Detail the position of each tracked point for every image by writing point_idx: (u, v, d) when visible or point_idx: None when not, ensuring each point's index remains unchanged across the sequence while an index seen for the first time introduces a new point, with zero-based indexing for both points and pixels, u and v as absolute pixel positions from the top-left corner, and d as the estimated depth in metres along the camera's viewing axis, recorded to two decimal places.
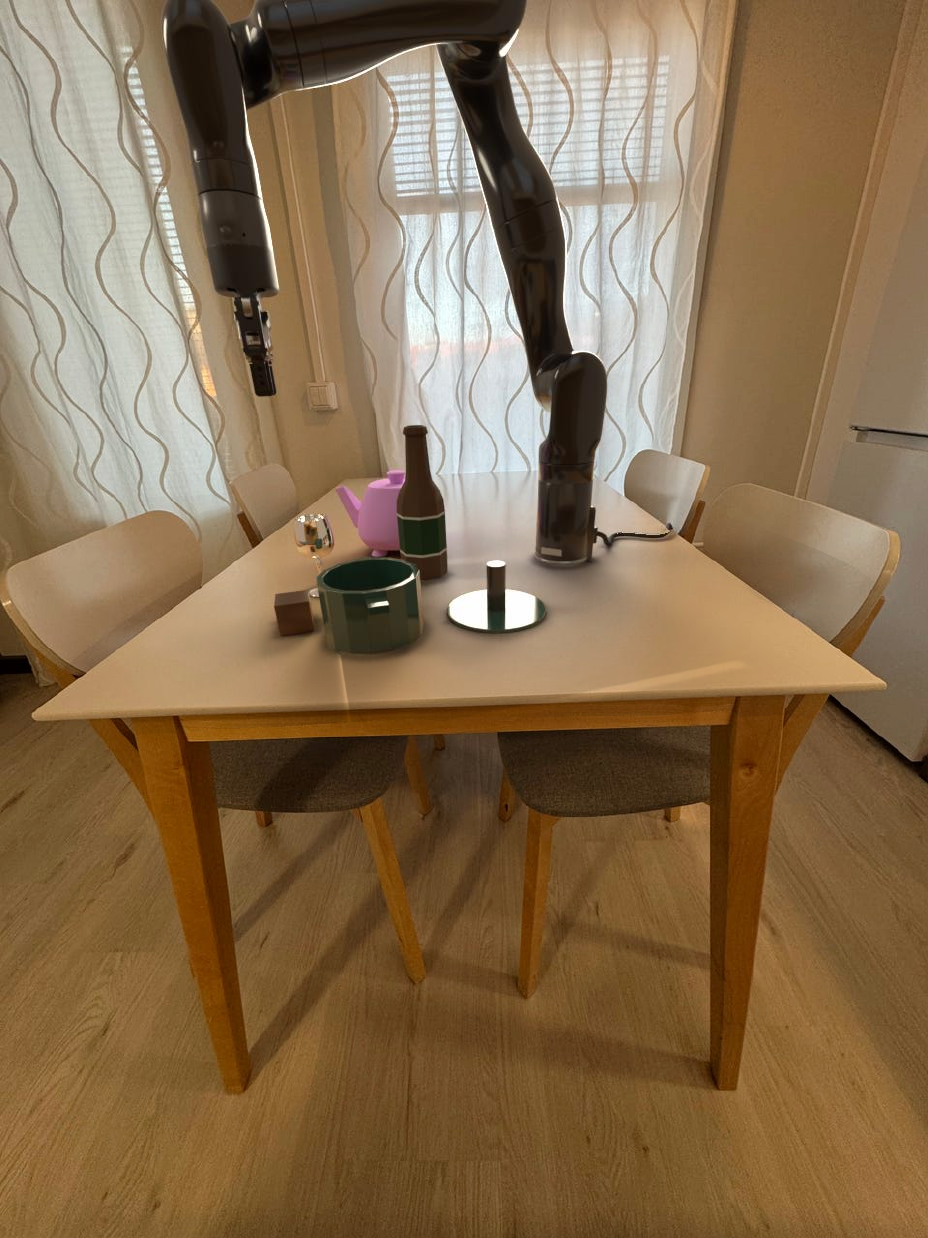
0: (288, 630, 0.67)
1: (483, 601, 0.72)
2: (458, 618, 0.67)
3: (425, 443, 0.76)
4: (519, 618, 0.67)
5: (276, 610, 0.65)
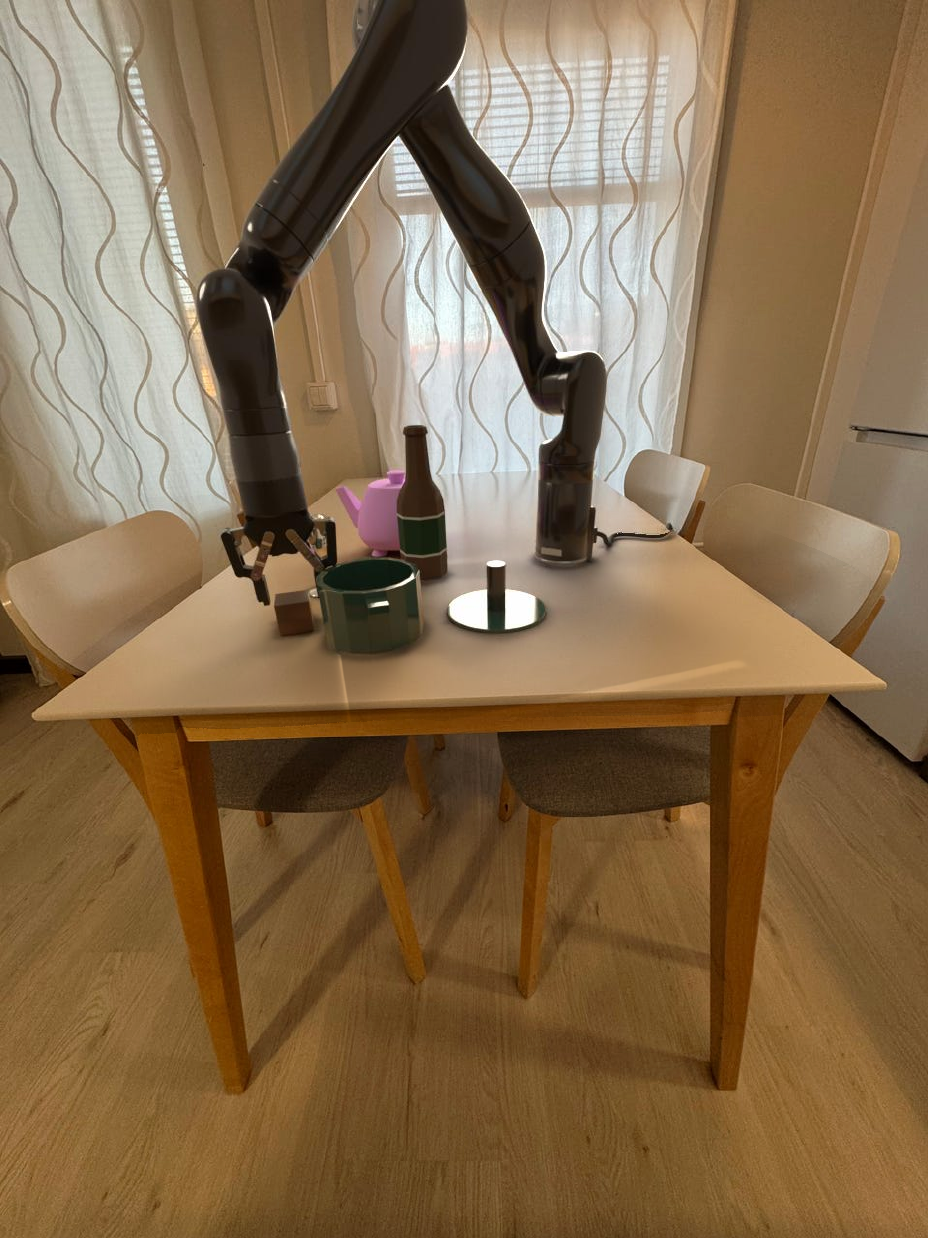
0: (288, 630, 0.67)
1: (483, 601, 0.72)
2: (458, 618, 0.67)
3: (425, 443, 0.76)
4: (519, 618, 0.67)
5: (276, 610, 0.65)
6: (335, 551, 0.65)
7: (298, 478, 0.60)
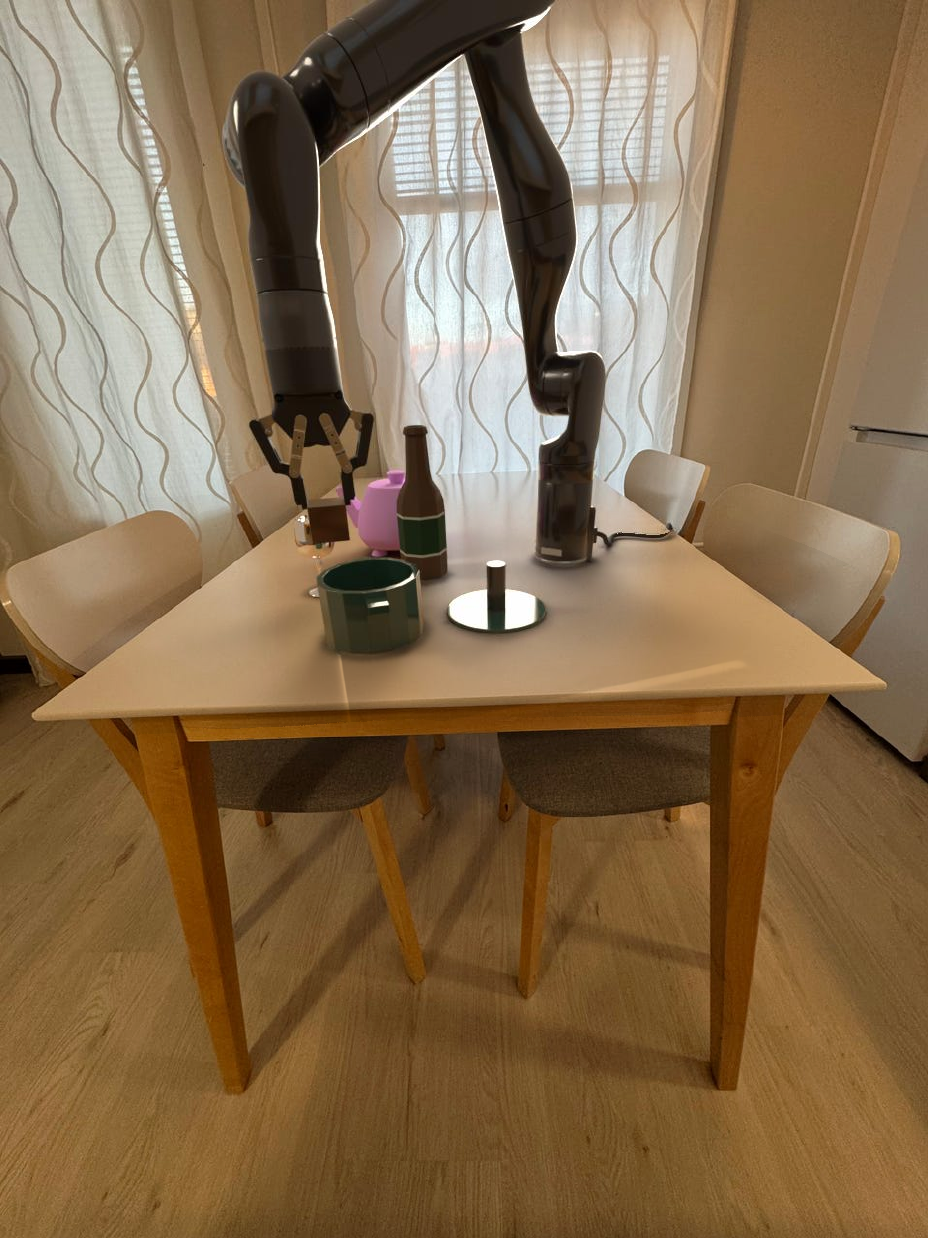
0: (322, 537, 0.60)
1: (483, 601, 0.72)
2: (458, 618, 0.67)
3: (425, 443, 0.76)
4: (519, 618, 0.67)
5: (309, 513, 0.58)
6: (367, 450, 0.58)
7: (335, 351, 0.53)
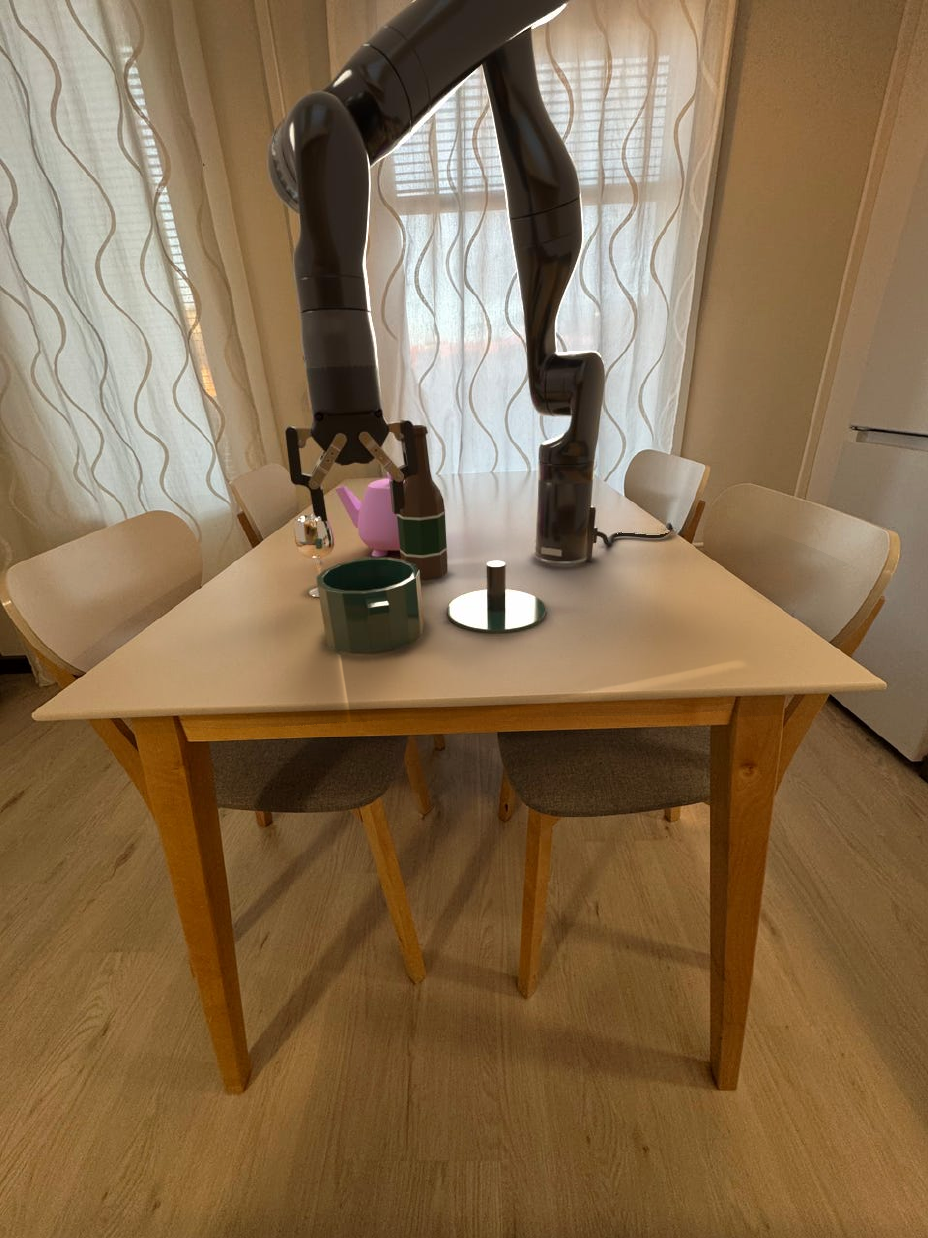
0: None
1: (483, 601, 0.72)
2: (458, 618, 0.67)
3: (425, 443, 0.76)
4: (519, 618, 0.67)
5: None
6: (415, 457, 0.57)
7: (377, 370, 0.52)
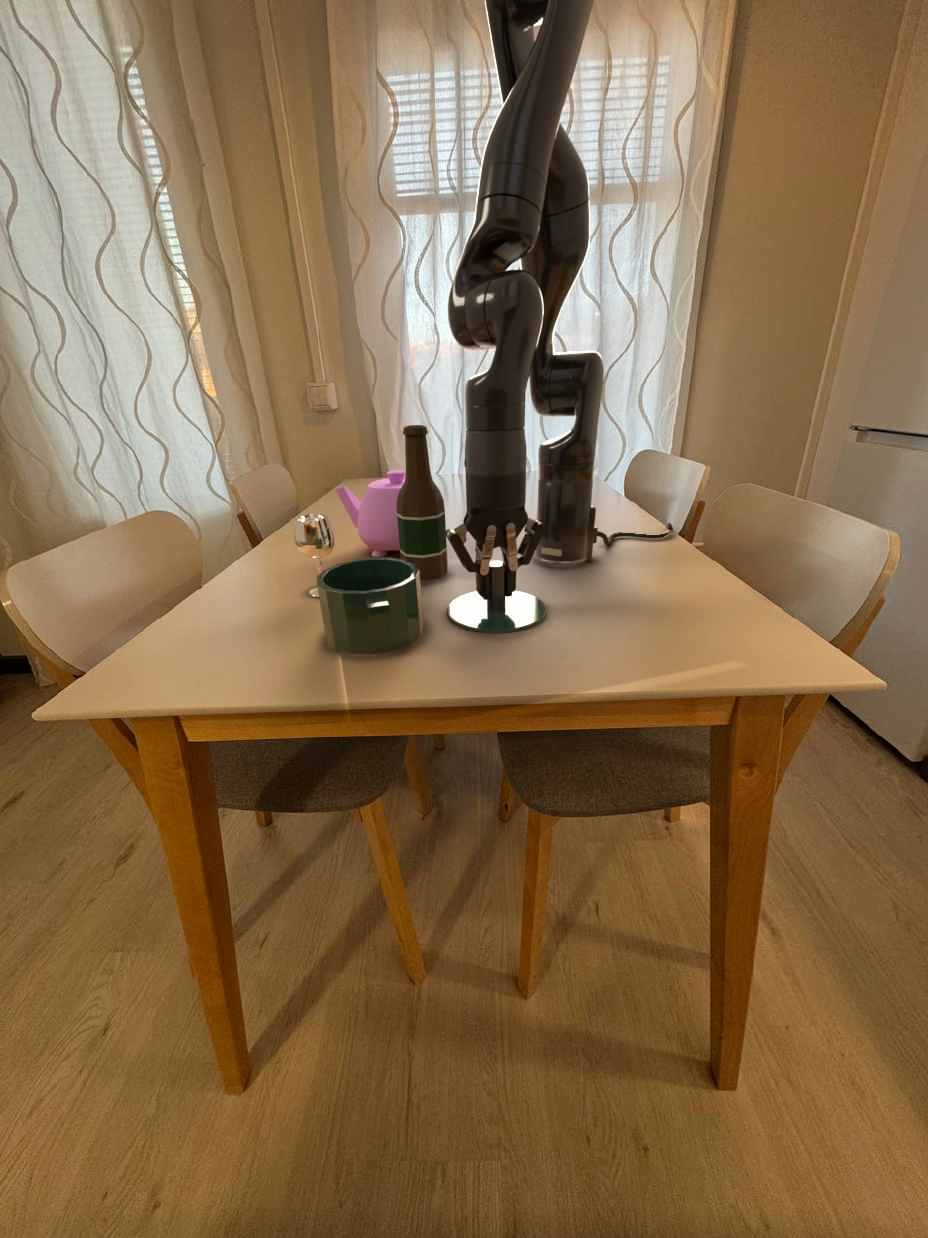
0: None
1: (483, 601, 0.72)
2: (458, 618, 0.67)
3: (425, 443, 0.76)
4: (519, 618, 0.67)
5: None
6: (533, 552, 0.67)
7: None
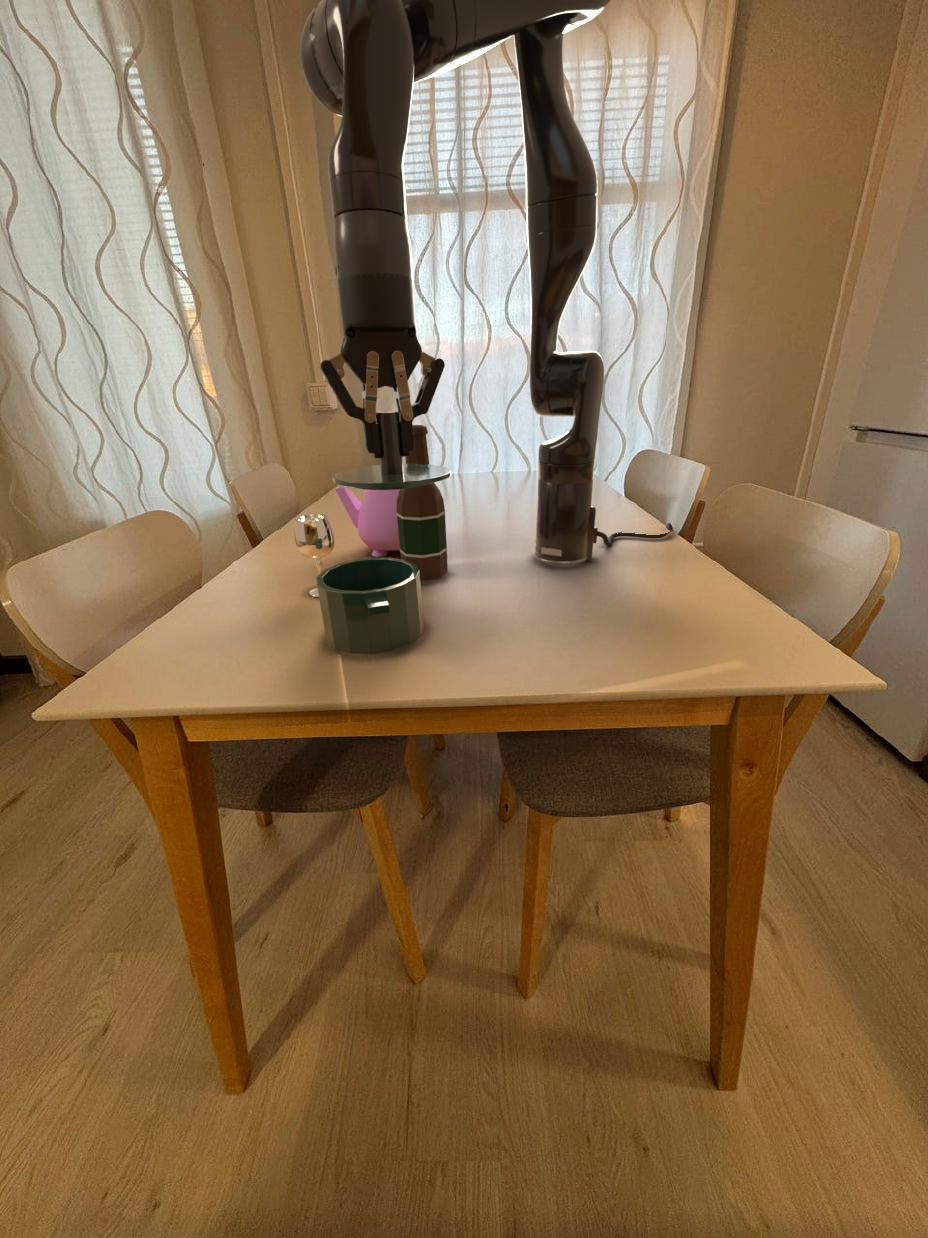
0: None
1: (380, 469, 0.60)
2: (341, 478, 0.55)
3: (425, 443, 0.76)
4: (414, 476, 0.55)
5: None
6: (431, 397, 0.55)
7: (412, 283, 0.50)
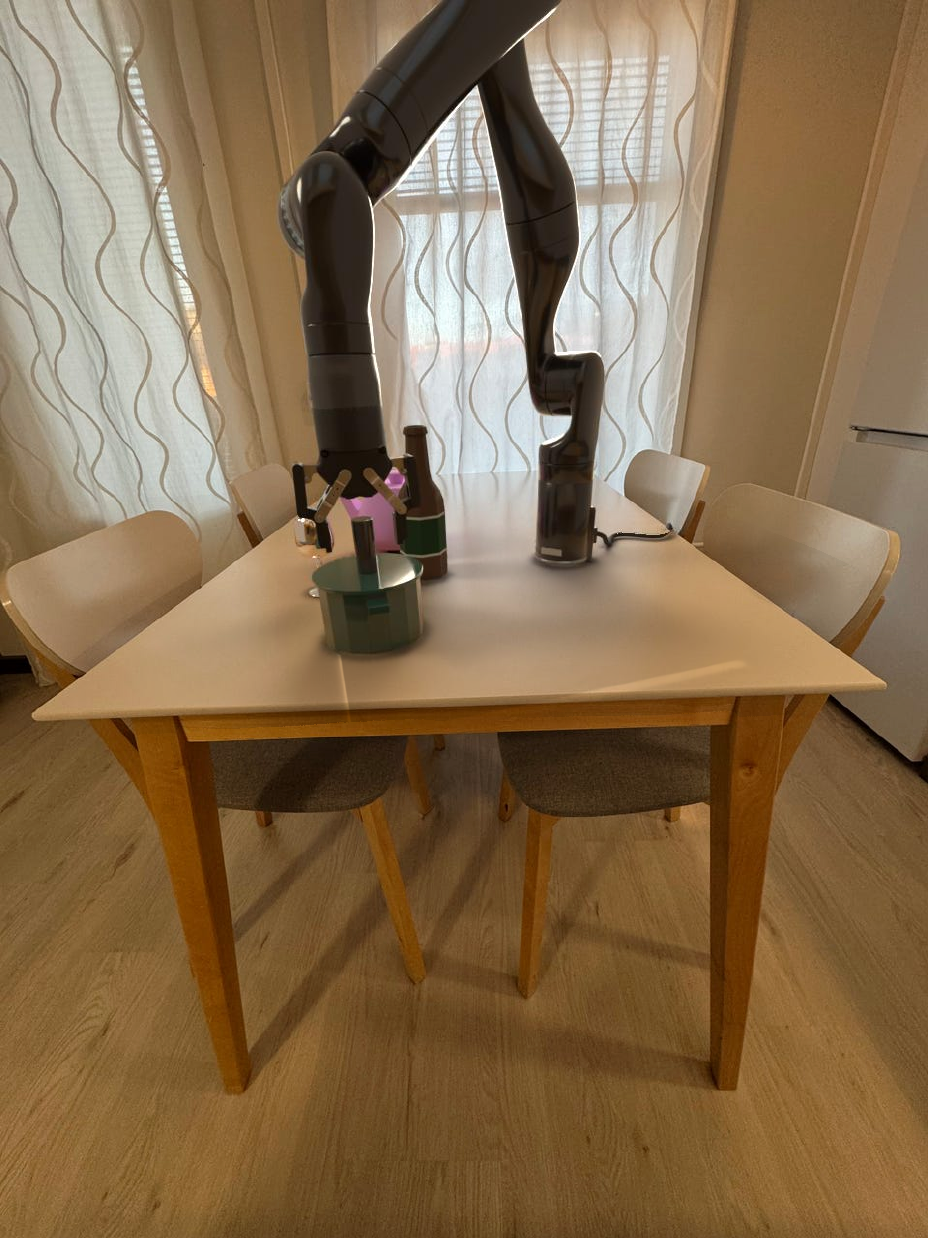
0: None
1: None
2: (319, 580, 0.60)
3: (425, 443, 0.76)
4: (386, 580, 0.59)
5: None
6: (418, 490, 0.59)
7: (381, 409, 0.54)
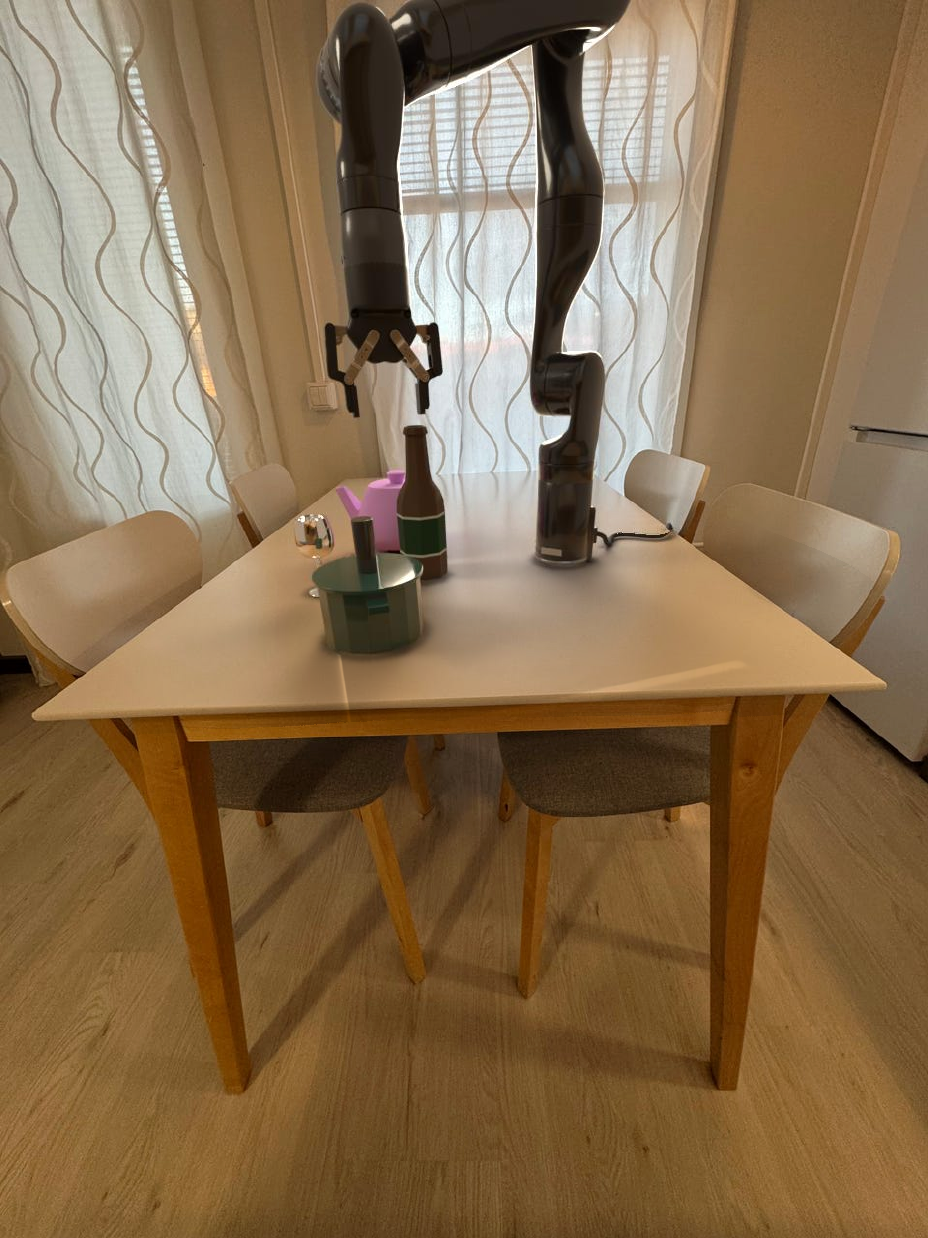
0: None
1: None
2: (319, 580, 0.60)
3: (425, 443, 0.76)
4: (386, 580, 0.59)
5: None
6: (440, 358, 0.63)
7: (407, 271, 0.58)
